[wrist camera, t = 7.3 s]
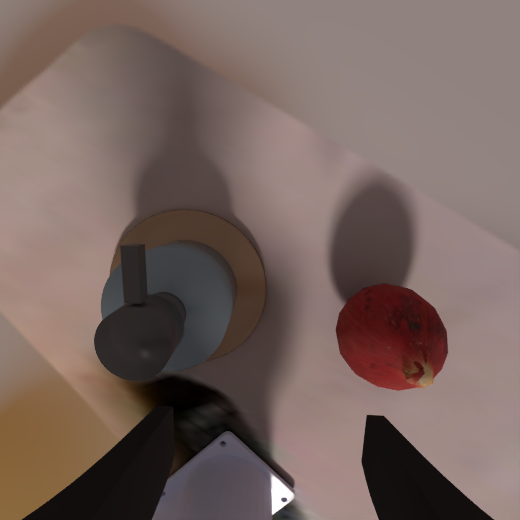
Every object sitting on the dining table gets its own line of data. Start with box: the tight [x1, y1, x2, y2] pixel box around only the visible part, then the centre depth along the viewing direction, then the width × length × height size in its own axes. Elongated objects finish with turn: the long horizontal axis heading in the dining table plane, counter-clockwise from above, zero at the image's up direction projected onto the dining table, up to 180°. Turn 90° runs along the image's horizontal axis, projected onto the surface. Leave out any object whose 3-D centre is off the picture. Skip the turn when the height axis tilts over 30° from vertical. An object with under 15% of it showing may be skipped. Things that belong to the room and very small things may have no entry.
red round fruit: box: [336, 283, 448, 391], centre depth 16 cm, size 6×6×8 cm
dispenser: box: [101, 210, 266, 371], centre depth 18 cm, size 11×11×6 cm
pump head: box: [94, 243, 184, 381], centre depth 13 cm, size 5×5×3 cm
